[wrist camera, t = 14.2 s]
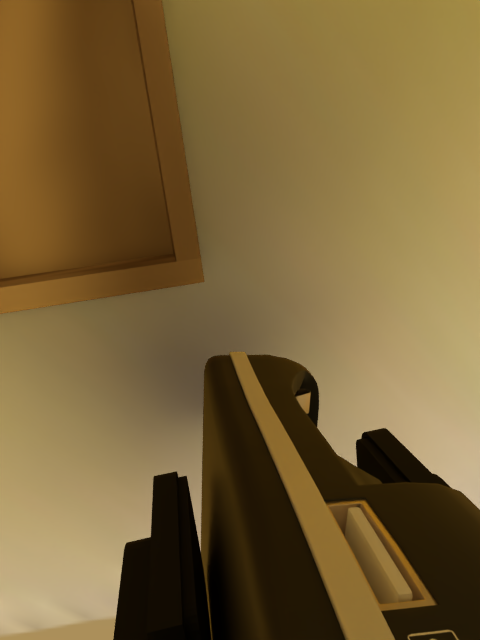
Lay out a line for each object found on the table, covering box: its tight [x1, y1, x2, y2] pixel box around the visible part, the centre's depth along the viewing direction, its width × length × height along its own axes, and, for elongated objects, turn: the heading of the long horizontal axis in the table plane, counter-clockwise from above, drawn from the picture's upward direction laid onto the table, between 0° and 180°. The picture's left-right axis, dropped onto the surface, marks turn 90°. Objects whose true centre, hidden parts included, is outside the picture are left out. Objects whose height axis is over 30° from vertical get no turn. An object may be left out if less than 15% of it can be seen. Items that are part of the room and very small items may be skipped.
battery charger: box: [201, 352, 480, 640], centre depth 7 cm, size 7×4×11 cm, turn 178°
